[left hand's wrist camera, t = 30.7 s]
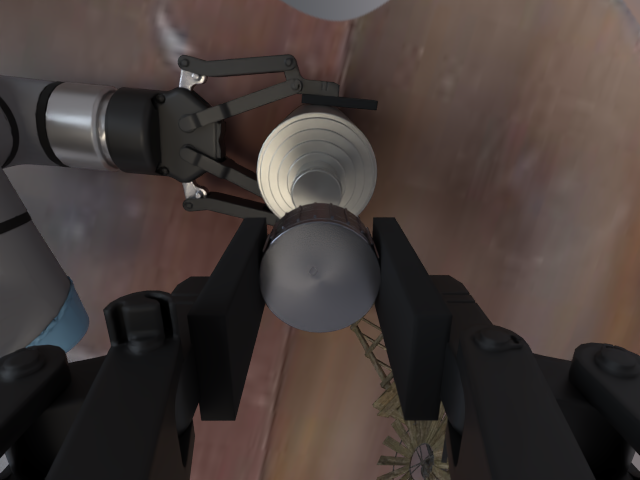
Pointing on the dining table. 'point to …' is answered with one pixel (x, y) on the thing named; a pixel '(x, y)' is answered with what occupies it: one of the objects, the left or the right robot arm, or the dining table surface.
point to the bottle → (316, 162)
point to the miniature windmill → (419, 430)
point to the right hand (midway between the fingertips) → (368, 153)
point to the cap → (319, 268)
